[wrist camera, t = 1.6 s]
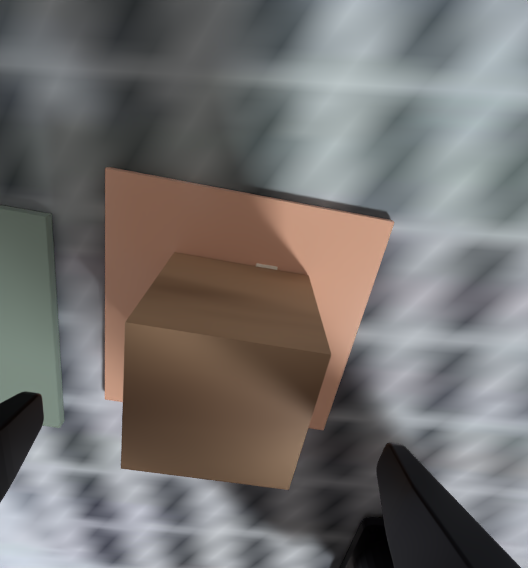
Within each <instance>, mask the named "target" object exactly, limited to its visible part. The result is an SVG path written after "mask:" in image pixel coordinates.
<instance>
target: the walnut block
mask: <svg viewBox="0 0 528 568" xmlns="http://www.w3.org/2000/svg"><path fill="white" fill-rule="evenodd" d="M330 358H331V351H330V348H329V344H328V341H327V337H326V334H325V330H324V327H323V323H322V320H321V316H320V313H319V309H318V306H317V302H316V299H315V295H314V292H313V288H312V285H311V281H310V278H309V275H304V274H298V273H292V272H287V271H281V270H275V269H269V268H263V267H258V266H252V265H246V264H240V263H235V262H229V261H223V260H217V259H211V258H206V257H200V256H194V255H188V254H182V253H177V252H174V253H173V255H172V256H171V258H170V259H169V261H168V262H167V263H166V265H165V266H164V268H163V269H162V270H161V272H160V273H159V275H158V276H157V278H156V279H155V280H154V282H153V283H152V285H151V286H150V288H149V289H148V290H147V292H146V293H145V295H144V296H143V298H142V299H141V300H140V302H139V303H138V305H137V306H136V307H135V309H134V310H133V312H132V313H131V315H130V316H129V317H128V319H127V320H126V322H125V344H124V379H123V415H122V451H121V469H129V470H137V471H145V472H152V473H160V474H168V475H176V476H184V477H192V478H199V479H207V480H215V481H223V482H231V483H239V484H246V485H254V486H262V487H270V488H278V489H285V490H289V487H290V484H291V481H292V478H293V475H294V472H295V469H296V465H297V462H298V459H299V456H300V453H301V450H302V446H303V443H304V440H305V437H306V434H307V431H308V427H309V424H310V421H311V418H312V415H313V412H314V408H315V405H316V402H317V399H318V396H319V393H320V389H321V386H322V383H323V380H324V377H325V374H326V370H327V367H328V364H329V361H330Z"/></svg>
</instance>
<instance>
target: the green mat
mask: <svg viewBox="0 0 528 568" xmlns="http://www.w3.org/2000/svg"><path fill="white" fill-rule="evenodd" d="M24 391H27V392H34V393H39V394H41V396H42V400H43V411H44V421H43V425H42V426H49V427H57V428H60V427H61V425H62V424H63V422H64V409H63V392H62V376H61V359H60V343H59V327H58V310H57V294H56V277H55V261H54V245H53V228H52V214H49V213H44V212H38V211H32V210H26V209H21V208H15V207H9V206H4V205H0V403H1V402H3V401H5V400H7V399H9V398H11V397H13V396H15V395H16V394H18V393H21V392H24Z"/></svg>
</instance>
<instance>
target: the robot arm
mask: <svg viewBox="0 0 528 568" xmlns="http://www.w3.org/2000/svg"><path fill="white" fill-rule="evenodd" d="M43 421H44V411H43V400H42V396H41V394H39V393H34V392H27V391H24V392H21V393H18V394H16V395H15V396H13V397H11V398H9V399H7V400H5V401H3V402H1V403H0V502H1V500H2V499H3V497H4V496H5V494H6V493H7V491H8V489H9V488H10V486H11V484H12V482H13V481H14V479H15V477H16V475H17V473H18V471H19V469H20V467H21V466H22V464H23V462H24V460H25V458H26V456H27V454H28V452H29V450H30V448H31V446H32V445H33V443H34V441H35V439H36V437H37V435H38V433H39V431H40V429H41V427H42V425H43ZM377 478H378V485H379V492H380V498H381V505H382V511H383V518H376V517H368V518H365V519H364V520H363V521H362V522H361V524H360V526H359V528H358V531H357V533H356V535H355V537H354V539H353V541H352V543H351V546H350V548H349V550H348V552H347V554H346V556H345V558H344V561H343V563H342V565H341V567H340V568H521V567H520V566H519V565H518V564H517V563H516V562H515V561H514V560H513V559H512V558H511V557H510V556H509V555H508V554H507V553H506V552H505V551H504V550H503V548H502V547H501V546H500V545H499V544H498V543H497V542H496V541H495V540H494V539H493V538H492V537H491V536H490V535H489V534H488V533H487V532H486V531H485V530H484V529H483V528H482V527H481V526H480V524H479V523H478V522H477V521H476V520H475V519H474V518H473V517H472V516H471V515H470V514H469V513H468V512H467V511H466V510H465V509H464V508H463V507H462V506H461V505H460V504H459V503H458V502H457V500H456V499H455V498H454V497H453V496H452V495H451V494H450V493H449V492H448V491H447V490H446V489H445V488H444V487H443V486H442V485H441V484H440V483H439V482H438V481H437V480H436V479H435V478H434V477H433V475H432V474H431V473H430V472H429V471H428V470H427V469H426V468H425V467H424V466H423V465H422V464H421V463H420V462H419V461H418V460H417V459H416V458H415V457H414V456H413V455H412V454H411V453H410V451H409V450H408V449H407V448H406V447H405V446H403V445H401V444H395V443H387V444H386V445H385V447H384V450H383V452H382V454H381V456H380V459H379V461H378V463H377Z"/></svg>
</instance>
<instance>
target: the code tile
mask: <svg viewBox="0 0 528 568" xmlns="http://www.w3.org/2000/svg"><path fill="white" fill-rule="evenodd" d="M393 225H394V221H392V220H389V219H384V218H379V217H373V216H368V215H363V214H357V213H352V212H346V211H341V210H336V209H330V208H325V207H320V206H314V205H309V204H304V203H298V202H293V201H288V200H282V199H277V198H272V197H266V196H261V195H256V194H250V193H245V192H240V191H234V190H229V189H224V188H218V187H213V186H208V185H202V184H197V183H192V182H186V181H181V180H176V179H170V178H165V177H160V176H154V175H149V174H144V173H138V172H133V171H128V170H122V169H117V168H112V167H107V168H105V399H106V400H113V401H120V402H123V379H124V344H125V322H126V320H127V319H128V317H129V316H130V315H131V313H132V312H133V310H134V309H135V307H136V306H137V305H138V303H139V302H140V300H141V299H142V298H143V296H144V295H145V293H146V292H147V290H148V289H149V288H150V286H151V285H152V283H153V282H154V280H155V279H156V278H157V276H158V275H159V273H160V272H161V270H162V269H163V268H164V266H165V265H166V263H167V262H168V261H169V259H170V258H171V256H172V255H173V253H174V252H177V253H182V254H188V255H194V256H200V257H206V258H211V259H217V260H223V261H229V262H235V263H240V264H246V265H252V266H258V267H263V268H269V269H275V270H281V271H287V272H292V273H298V274H304V275H309V278H310V281H311V285H312V288H313V292H314V295H315V299H316V302H317V306H318V309H319V313H320V316H321V320H322V323H323V327H324V330H325V334H326V337H327V341H328V344H329V348H330V351H331V358H330V361H329V364H328V367H327V370H326V374H325V377H324V380H323V383H322V386H321V389H320V393H319V396H318V399H317V402H316V405H315V408H314V412H313V415H312V418H311V421H310V424H309V427H308V428H311V429H319V430H324V427H325V425H326V422H327V419H328V416H329V413H330V410H331V407H332V404H333V401H334V398H335V395H336V392H337V389H338V386H339V383H340V381H341V378H342V375H343V372H344V369H345V366H346V363H347V360H348V357H349V354H350V351H351V348H352V345H353V342H354V339H355V337H356V334H357V331H358V328H359V325H360V322H361V319H362V316H363V313H364V310H365V307H366V304H367V301H368V298H369V295H370V293H371V290H372V287H373V284H374V281H375V278H376V275H377V272H378V269H379V266H380V263H381V260H382V257H383V254H384V251H385V249H386V246H387V243H388V240H389V237H390V234H391V231H392V228H393Z"/></svg>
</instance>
